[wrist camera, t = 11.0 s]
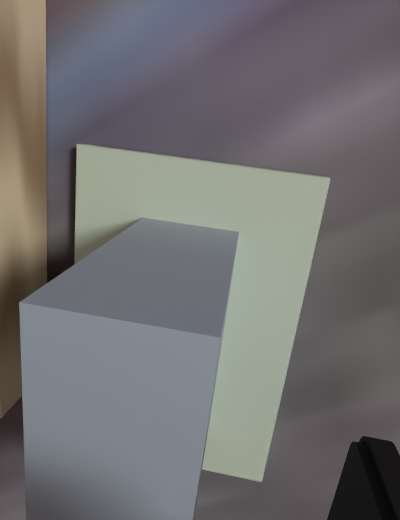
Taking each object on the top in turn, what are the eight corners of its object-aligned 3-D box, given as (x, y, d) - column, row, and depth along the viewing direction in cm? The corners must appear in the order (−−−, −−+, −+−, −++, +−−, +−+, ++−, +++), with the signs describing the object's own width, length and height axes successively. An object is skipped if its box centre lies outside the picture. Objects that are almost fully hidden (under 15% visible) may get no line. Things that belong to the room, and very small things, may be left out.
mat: (261, 471, 16) (261, 482, 15) (76, 432, 16) (70, 441, 16) (327, 176, 12) (330, 178, 11) (83, 143, 13) (76, 144, 12)
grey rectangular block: (208, 430, 15) (170, 665, 8) (128, 414, 15) (30, 628, 8) (239, 231, 12) (220, 337, 6) (142, 217, 13) (19, 302, 6)
